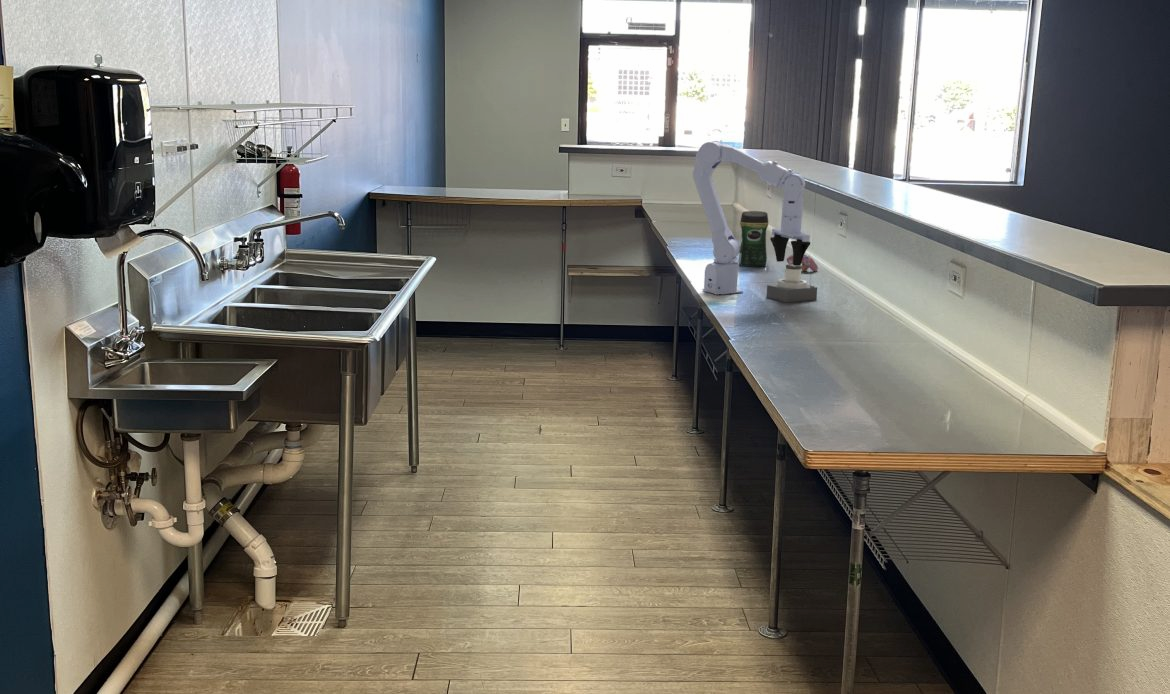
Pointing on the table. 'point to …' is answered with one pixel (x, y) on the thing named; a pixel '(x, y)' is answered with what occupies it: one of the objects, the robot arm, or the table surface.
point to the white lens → (793, 273)
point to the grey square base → (791, 291)
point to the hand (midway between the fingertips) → (788, 263)
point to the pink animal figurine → (805, 263)
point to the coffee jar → (753, 238)
